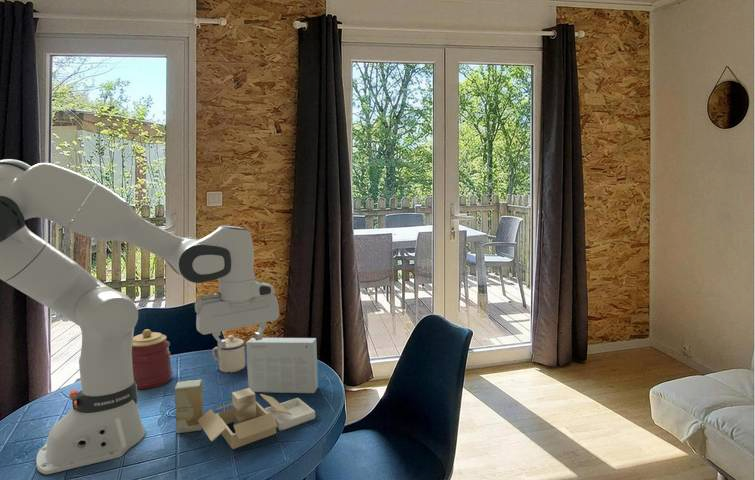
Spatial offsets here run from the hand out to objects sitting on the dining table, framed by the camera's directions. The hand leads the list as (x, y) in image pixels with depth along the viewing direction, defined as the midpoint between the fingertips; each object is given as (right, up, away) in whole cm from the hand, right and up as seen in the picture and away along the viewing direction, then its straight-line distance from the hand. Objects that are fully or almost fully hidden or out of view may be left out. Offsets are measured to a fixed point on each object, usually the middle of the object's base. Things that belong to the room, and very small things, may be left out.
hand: (240, 343), depth 112 cm
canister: (-40, -21, +33) cm, 56 cm away
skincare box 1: (-14, -23, +4) cm, 28 cm away
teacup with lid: (-18, -19, +44) cm, 51 cm away
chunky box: (0, -23, +3) cm, 23 cm away
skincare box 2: (+5, -21, +26) cm, 34 cm away
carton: (0, -23, +3) cm, 23 cm away
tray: (+11, -22, +9) cm, 26 cm away
